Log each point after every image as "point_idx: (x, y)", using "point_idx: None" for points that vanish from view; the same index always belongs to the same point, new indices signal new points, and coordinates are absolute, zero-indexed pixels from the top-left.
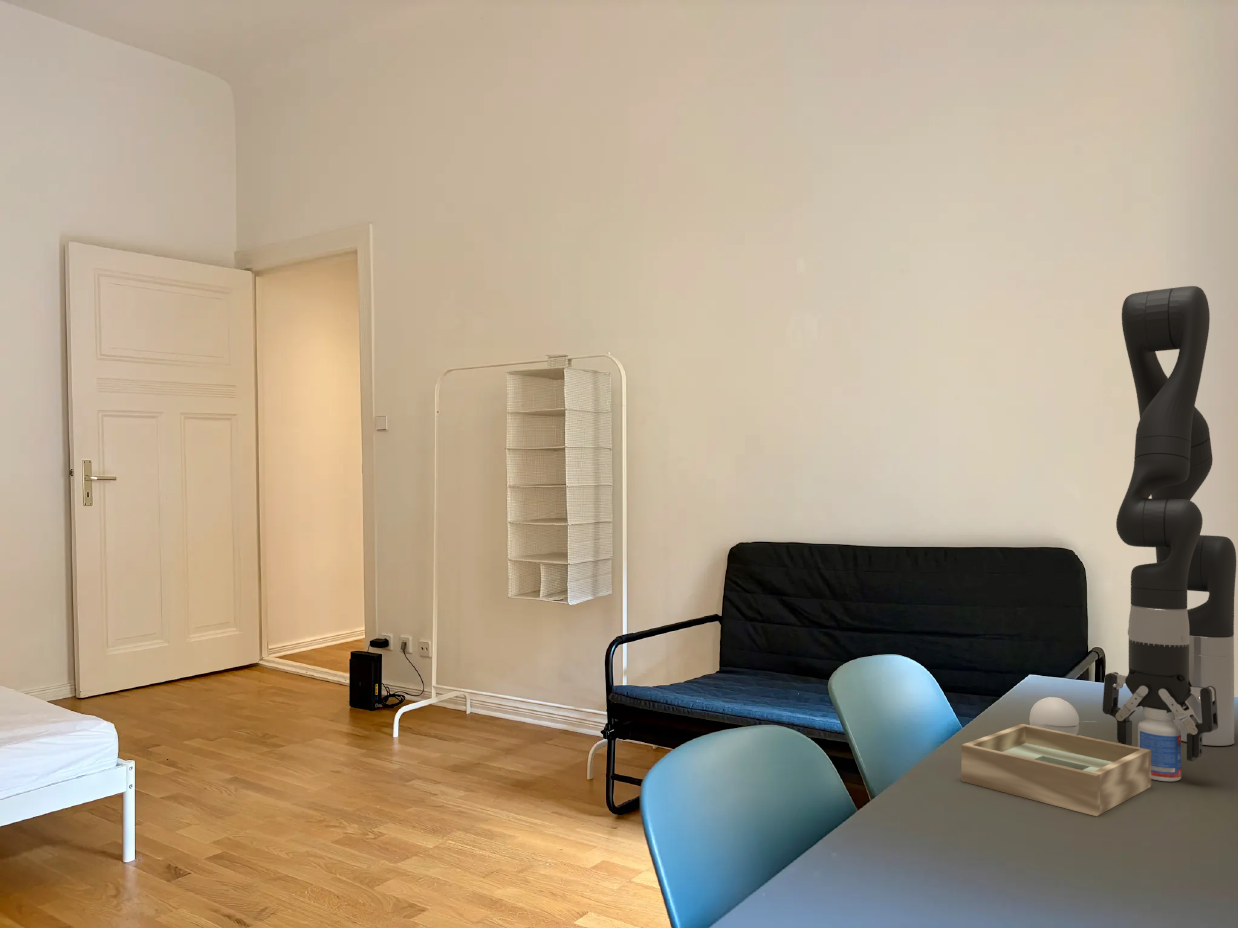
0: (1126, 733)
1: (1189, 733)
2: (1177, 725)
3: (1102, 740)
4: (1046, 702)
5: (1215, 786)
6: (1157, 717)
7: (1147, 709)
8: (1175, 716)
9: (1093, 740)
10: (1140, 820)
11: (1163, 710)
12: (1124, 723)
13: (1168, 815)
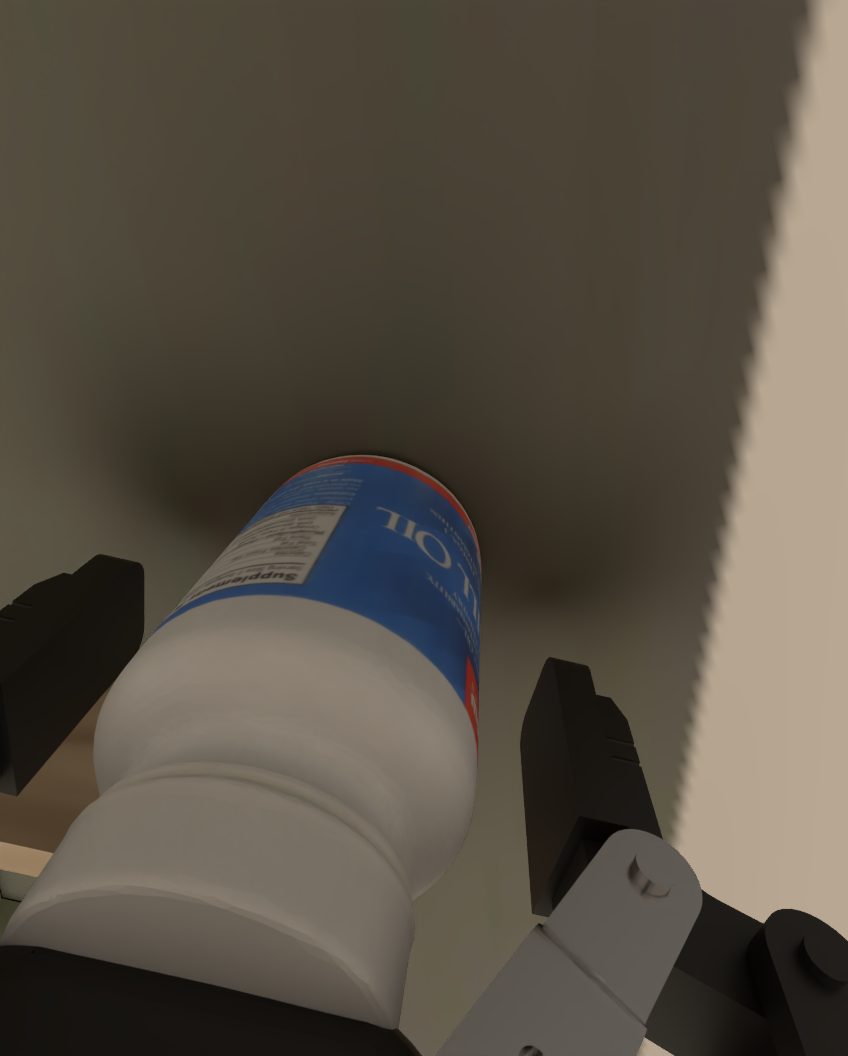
0: (79, 713)
1: (555, 903)
2: (441, 820)
3: (43, 855)
4: None
5: (654, 573)
6: None
7: None
8: (413, 932)
9: (7, 865)
10: (408, 1027)
11: None
12: (8, 784)
13: (474, 974)
